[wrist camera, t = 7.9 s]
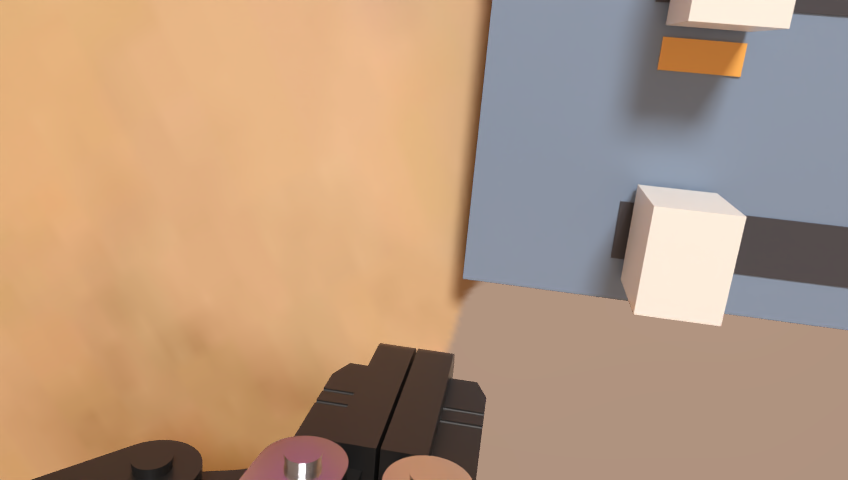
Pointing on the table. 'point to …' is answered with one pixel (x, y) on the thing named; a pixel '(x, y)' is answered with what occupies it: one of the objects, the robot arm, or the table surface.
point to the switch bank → (663, 147)
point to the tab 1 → (731, 14)
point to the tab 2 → (681, 254)
